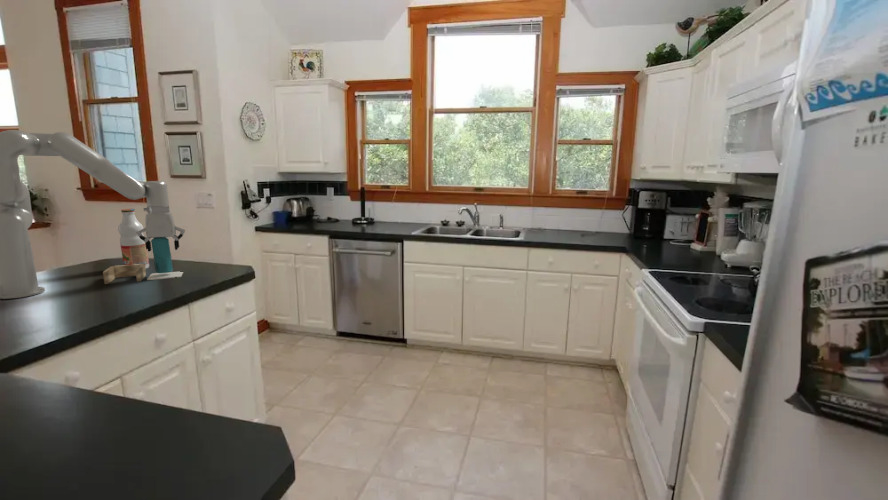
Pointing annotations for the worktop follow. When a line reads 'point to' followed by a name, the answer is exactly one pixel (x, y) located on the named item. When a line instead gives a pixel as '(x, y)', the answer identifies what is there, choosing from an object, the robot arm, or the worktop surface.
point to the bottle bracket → (124, 272)
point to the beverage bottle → (162, 255)
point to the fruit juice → (132, 240)
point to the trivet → (164, 275)
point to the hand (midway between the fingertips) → (163, 250)
